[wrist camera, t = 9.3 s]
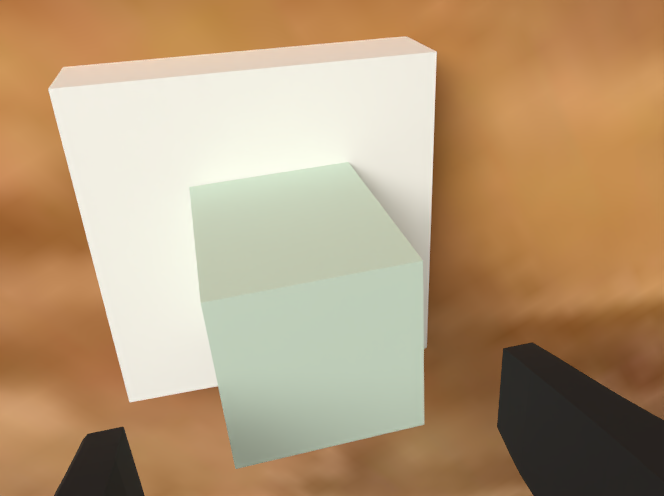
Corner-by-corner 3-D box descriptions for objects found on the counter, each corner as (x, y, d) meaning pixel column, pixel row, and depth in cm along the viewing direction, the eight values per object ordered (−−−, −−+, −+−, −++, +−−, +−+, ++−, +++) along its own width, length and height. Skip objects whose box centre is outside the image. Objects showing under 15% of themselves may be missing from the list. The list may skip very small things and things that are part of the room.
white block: (399, 302, 24) (426, 347, 22) (134, 346, 23) (129, 402, 20) (401, 33, 20) (436, 51, 17) (65, 64, 18) (48, 89, 15)
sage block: (357, 294, 20) (424, 424, 15) (216, 321, 19) (235, 468, 14) (348, 161, 18) (423, 260, 13) (189, 186, 17) (200, 302, 12)
